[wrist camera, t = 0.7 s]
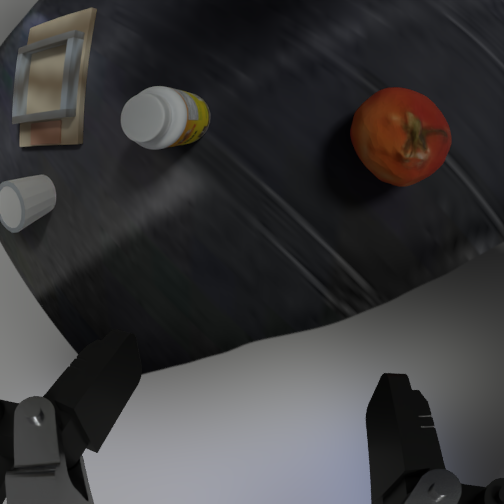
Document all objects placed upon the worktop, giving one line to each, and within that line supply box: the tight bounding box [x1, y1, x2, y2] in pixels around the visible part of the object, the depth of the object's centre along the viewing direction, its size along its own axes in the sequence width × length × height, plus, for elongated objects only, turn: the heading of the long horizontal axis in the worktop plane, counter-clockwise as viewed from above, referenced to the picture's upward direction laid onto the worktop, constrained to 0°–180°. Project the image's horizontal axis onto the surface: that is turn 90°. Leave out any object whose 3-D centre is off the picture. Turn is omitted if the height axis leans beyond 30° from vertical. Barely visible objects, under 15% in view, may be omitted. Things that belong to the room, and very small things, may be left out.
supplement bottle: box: [121, 86, 210, 150], centre depth 26 cm, size 6×6×10 cm
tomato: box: [350, 87, 451, 186], centre depth 25 cm, size 9×9×8 cm
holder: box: [12, 8, 97, 147], centre depth 29 cm, size 18×12×3 cm, turn 174°
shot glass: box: [0, 174, 56, 233], centre depth 34 cm, size 7×7×7 cm
